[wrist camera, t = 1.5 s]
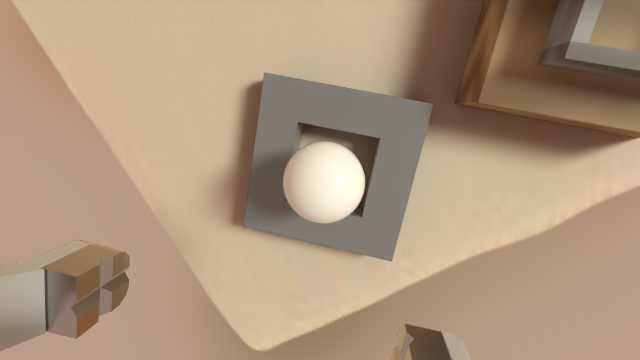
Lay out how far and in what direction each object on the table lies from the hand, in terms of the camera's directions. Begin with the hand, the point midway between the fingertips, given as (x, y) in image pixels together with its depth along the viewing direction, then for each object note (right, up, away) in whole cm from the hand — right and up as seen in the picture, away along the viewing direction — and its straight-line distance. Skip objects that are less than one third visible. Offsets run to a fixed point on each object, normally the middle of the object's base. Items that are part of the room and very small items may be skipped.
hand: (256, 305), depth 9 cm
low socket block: (+3, +5, +23) cm, 24 cm away
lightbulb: (+3, +5, +23) cm, 24 cm away
